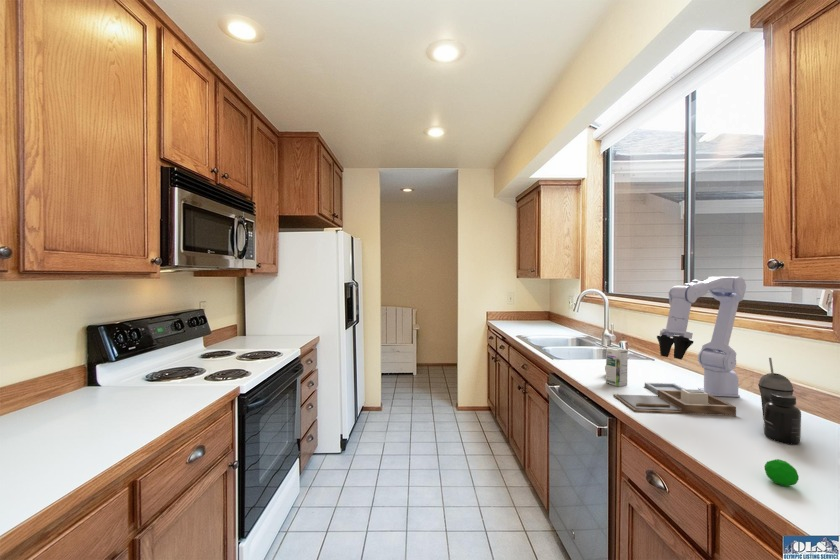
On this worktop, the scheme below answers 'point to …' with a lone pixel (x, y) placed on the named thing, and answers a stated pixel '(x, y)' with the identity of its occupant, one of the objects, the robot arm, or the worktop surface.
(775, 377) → the beverage cup
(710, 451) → the worktop surface
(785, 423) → the supplement bottle
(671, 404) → the open case
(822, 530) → the worktop surface
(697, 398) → the block
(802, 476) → the worktop surface
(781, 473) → the green rounded piece
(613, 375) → the syrup box
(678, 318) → the robot arm
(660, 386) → the tray
